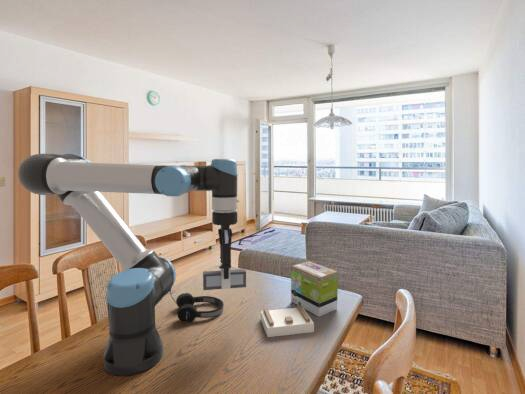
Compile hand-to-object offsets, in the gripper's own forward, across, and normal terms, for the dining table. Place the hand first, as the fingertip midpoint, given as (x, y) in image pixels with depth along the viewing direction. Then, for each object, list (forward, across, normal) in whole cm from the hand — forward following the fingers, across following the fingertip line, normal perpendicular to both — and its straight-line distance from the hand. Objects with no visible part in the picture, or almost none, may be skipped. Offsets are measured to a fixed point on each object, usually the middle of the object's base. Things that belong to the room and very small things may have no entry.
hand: (225, 285), depth 95 cm
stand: (+15, +1, -20) cm, 25 cm away
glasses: (+1, +4, 0) cm, 4 cm away
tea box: (+16, +13, -34) cm, 39 cm away
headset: (+16, +16, +9) cm, 25 cm away
